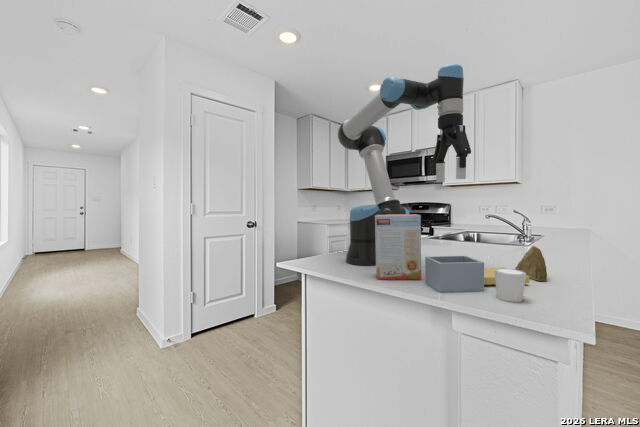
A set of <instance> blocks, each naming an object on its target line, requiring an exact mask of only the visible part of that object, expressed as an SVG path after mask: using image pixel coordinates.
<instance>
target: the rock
mask: <svg viewBox="0 0 640 427" xmlns="http://www.w3.org/2000/svg"><path fill="white" fill-rule="evenodd" d="M514 270H520V271H523V272H525V273H526V275H527V276H529V280H530V279H531V280H534V281H537V282H546V281H547V277H548V273H547V272H548V271H547V265H546V261H545V258H544V256H543V253H542V250H541V249H540V248H539V247H537V246H535V245H532V246H531V247H530V249H528V250H527V251H526V253H525V254H524V255H523V257H522V258H521V260H520V261H519V262H518V263H517V265H516V267H515V269H514Z"/></svg>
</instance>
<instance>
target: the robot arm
mask: <svg viewBox="0 0 640 427" xmlns="http://www.w3.org/2000/svg"><path fill="white" fill-rule="evenodd" d="M463 68H464V67H463V65H461V64H458V63H450V64H446V65H443V66H442V67H440V68H439V69H438V71H437V78H435V79H433V80H431V81H430V82H426V83H425V82H422V81H421V82H420V81H416V80H410V79H406V78H402V77H399V76H397V77H395V76H388V77H386V78H385V79H383V81H382V84H381V85H380V88H379V93H377V95H376V96H374V98H372V99H371V100H370V101H369V102H368V103H367V104H366V105H364V106H363V107H362V108H361V109H360V110H359V111H358V112H357V113H356V114H355V115H353V116H352V117H351V118H347V119H346V120H345V121H343V122H342V123H341V124H340V126H339V128H338V131H337V139H338V142H339V143H340V145H341V146H343V148H345V149H347V150H350V151H351V150H352V151H358V154H359V157H360V158H361V159H363V161H364V164H365V167H366V172H367V175H368V178H369V183H370V186H371V190H372V194H373V198H374V201H375V204H366V205H359V206H355V207H352V208H351V209H350V212H349V236H350V237H349V240H350V241H349V242H350V243H349V246H348V250H347V253H346V257H345V258H346V259H345V260H346V261H345V262H346V263H347V264H350V265H353V266H354V265H355V266H376V245H375V215H388V214H410V211H409V210H408V208H406V206H405V207H404V206H402V204H401V201H400V199H397V198H396V197H395V193H394V190H393V186H392V183H391V180H390V177H389V173H388V170H387V167H386V163H385V160H384V156H383V154H382V153H383V152H384V148H385V146H386V144H387V142H386V141H387V137H386V136H387V135H386V133H385V131H384V130H383V129H382V128H381V127H378V126H376V125H374V124H376V123H377V122H378V121H379V120H381V119H382V118H383V117H385V116H386V115H387V114H389V113H390V112H391V111H392V110H394V109H396V107H398V106H400V105H401V104H405V105H410V106H411V108H413V109H414V110H417V111H419V110H420V111H421V110H424V109H427V108H429V107H431V106H434V105H436V104H437V106H436V108H437V116H438V118H437V129H439V130H441V134H437V135H436V144H435V149H434V153H433V159H432V162H433V163H435V170H436V171H435V175H436V176H435V181H436V183H444V182H445V181H446V180H445V178H446V176H445V175H446V173H445V171H446V169H445V167H446V166H445V164H446V161H445V159H446V156H447V152H448V150H449V148H450V147H451V146H452V147H453V149H454V152H455V153H456V156H455V157H456V158H455V180H465V179H467V157H468V156H469V155H470V154H471V153H472V149H471V146H470V143H469V140H468V136H467V132H466V125H464V115H463V113H464V80H465V78H464V69H463Z"/></svg>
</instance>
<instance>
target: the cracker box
mask: <svg viewBox="0 0 640 427" xmlns="http://www.w3.org/2000/svg"><path fill="white" fill-rule="evenodd" d="M421 219H422V215H421V214H417V213H412V214H411V213H409V214H388V215H375V245H376V265H375V275H376V279H377V280H413V281H414V280H418V281H419V280H422V230H421V228H422V226H421V224H422V220H421Z"/></svg>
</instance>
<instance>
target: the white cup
mask: <svg viewBox="0 0 640 427" xmlns="http://www.w3.org/2000/svg"><path fill="white" fill-rule="evenodd" d="M494 272H495V283H496V285H495V290H496V292H495V293H496V297H497V298H498V299H499V300H502V301H506V302H510V303H511V302H512V303H514V302H515V303H521V302H523V301H524V300H523V299H524V292H525V286H526V283H525V279H526V273H525V272H523V271H520V270H515V269H514V268H507V269H495V270H494Z"/></svg>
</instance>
